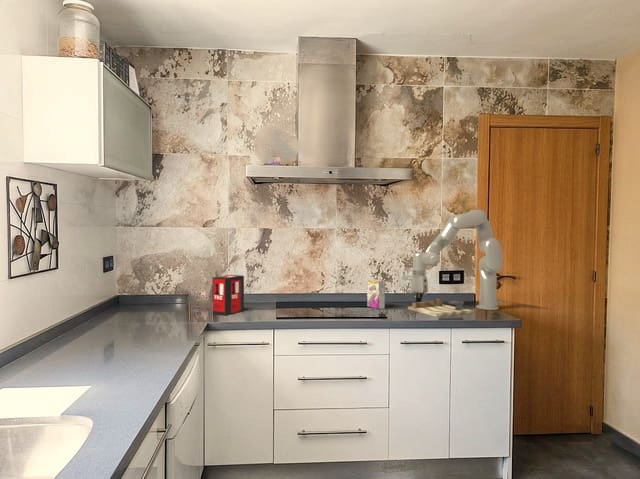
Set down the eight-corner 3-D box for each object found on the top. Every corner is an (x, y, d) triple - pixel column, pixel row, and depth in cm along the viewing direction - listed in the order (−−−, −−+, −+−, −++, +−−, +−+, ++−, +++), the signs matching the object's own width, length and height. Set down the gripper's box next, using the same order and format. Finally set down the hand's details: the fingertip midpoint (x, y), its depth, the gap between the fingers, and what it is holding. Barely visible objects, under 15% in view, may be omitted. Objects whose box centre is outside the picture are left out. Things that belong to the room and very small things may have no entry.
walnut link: (438, 304, 297) (438, 298, 297) (444, 305, 292) (444, 299, 292) (411, 306, 287) (411, 300, 287) (416, 307, 283) (416, 301, 283)
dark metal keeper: (458, 308, 284) (458, 300, 284) (463, 309, 280) (464, 301, 280) (447, 309, 280) (447, 301, 280) (452, 310, 276) (452, 302, 276)
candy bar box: (366, 306, 296) (366, 279, 296) (372, 306, 299) (373, 279, 299) (378, 309, 287) (379, 281, 286) (385, 308, 290) (385, 280, 289)
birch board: (441, 306, 301) (441, 303, 301) (472, 312, 279) (472, 310, 279) (407, 309, 289) (407, 306, 288) (436, 316, 266) (436, 313, 266)
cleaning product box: (225, 315, 262) (225, 278, 261) (212, 314, 266) (212, 277, 265) (243, 311, 277) (243, 275, 276) (230, 309, 280) (230, 274, 280)
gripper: (433, 274, 289) (432, 305, 289) (414, 272, 301) (413, 301, 301) (424, 274, 284) (423, 306, 285) (405, 272, 296) (404, 303, 297)
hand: (418, 304), depth 293 cm, fingers closed
